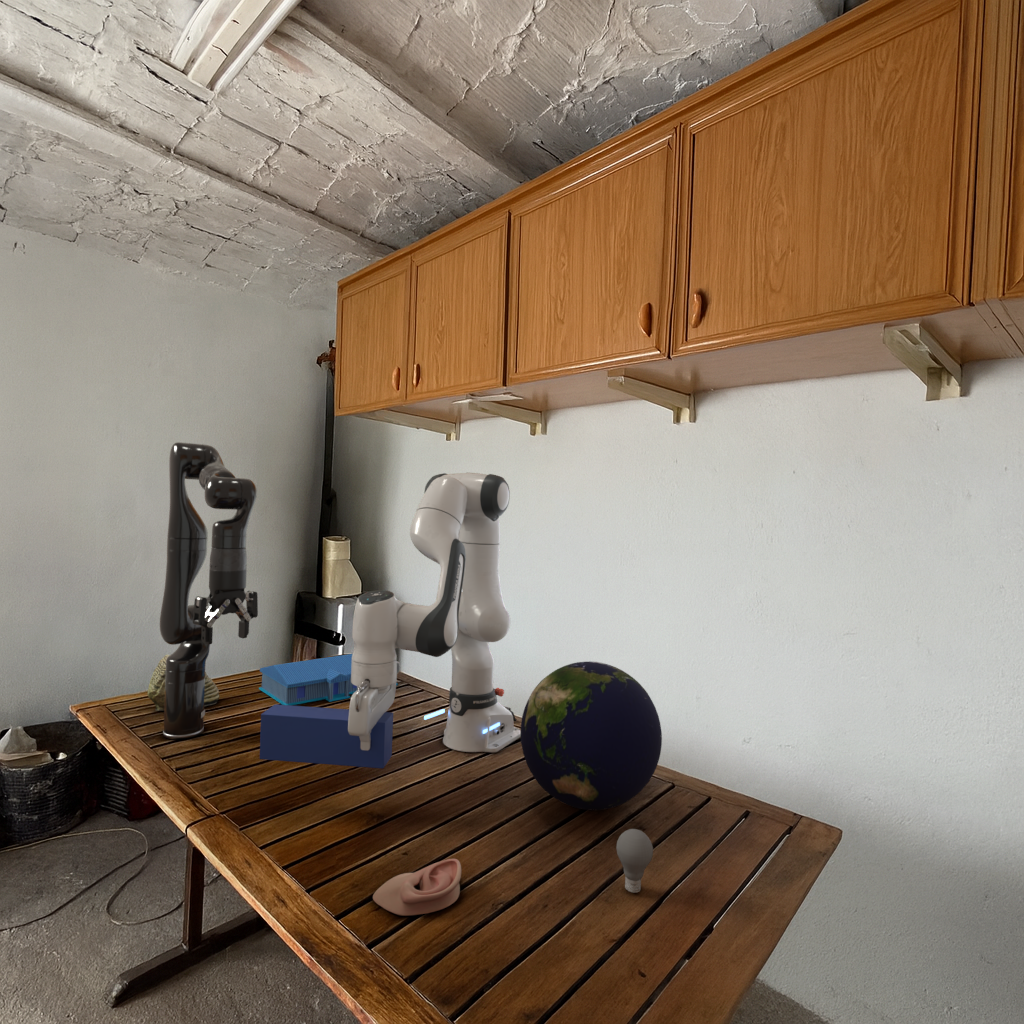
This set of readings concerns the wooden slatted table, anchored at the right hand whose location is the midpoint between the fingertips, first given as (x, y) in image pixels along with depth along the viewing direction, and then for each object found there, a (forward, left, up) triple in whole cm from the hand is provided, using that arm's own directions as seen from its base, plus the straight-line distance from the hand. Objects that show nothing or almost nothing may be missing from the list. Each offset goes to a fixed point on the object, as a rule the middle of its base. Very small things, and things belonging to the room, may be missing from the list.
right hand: (371, 741), depth 127 cm
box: (+5, -7, -4) cm, 10 cm away
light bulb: (-15, +51, -15) cm, 55 cm away
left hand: (+13, -36, +16) cm, 42 cm away
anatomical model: (+10, +26, -15) cm, 32 cm away
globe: (-36, +28, -15) cm, 48 cm away
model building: (-42, -76, -15) cm, 87 cm away
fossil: (0, -89, -15) cm, 90 cm away
